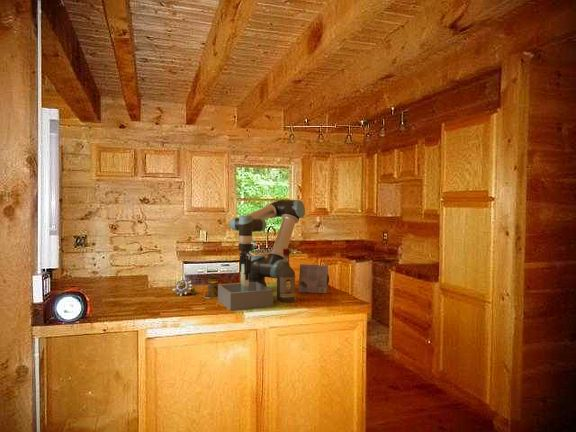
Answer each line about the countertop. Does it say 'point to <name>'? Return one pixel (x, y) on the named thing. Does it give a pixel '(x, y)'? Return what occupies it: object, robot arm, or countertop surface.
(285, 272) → the liquor
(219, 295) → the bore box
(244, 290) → the peg
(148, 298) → the countertop surface
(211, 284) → the condiment
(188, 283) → the passion flower
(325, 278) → the cake pan box
